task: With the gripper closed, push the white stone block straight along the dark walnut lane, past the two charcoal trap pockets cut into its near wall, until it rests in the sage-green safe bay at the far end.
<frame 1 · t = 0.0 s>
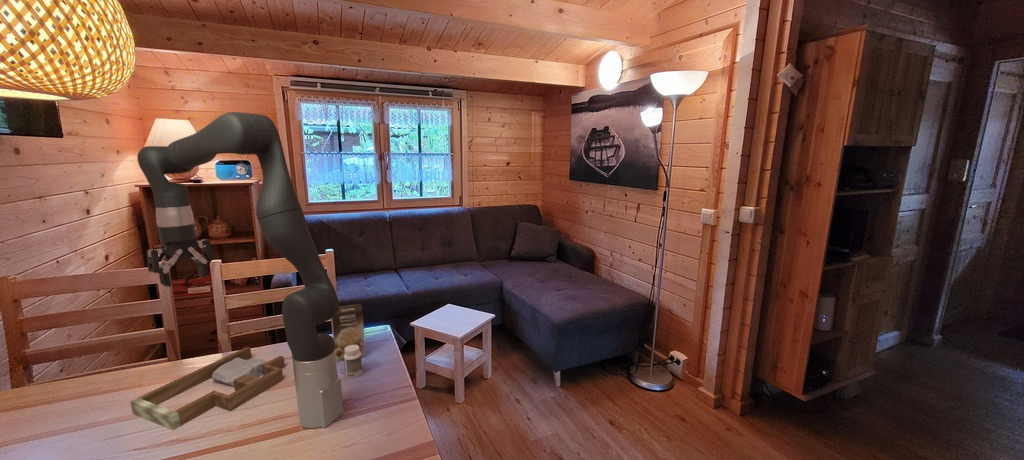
hand: (185, 281, 107), 29 cm above the table, tool pointing down, fingers open, 8 cm apart
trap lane: (219, 386, 109), on the table
pill bottle: (354, 374, 116), on the table
stone block: (238, 378, 114), on the table
coffee box: (350, 355, 126), on the table
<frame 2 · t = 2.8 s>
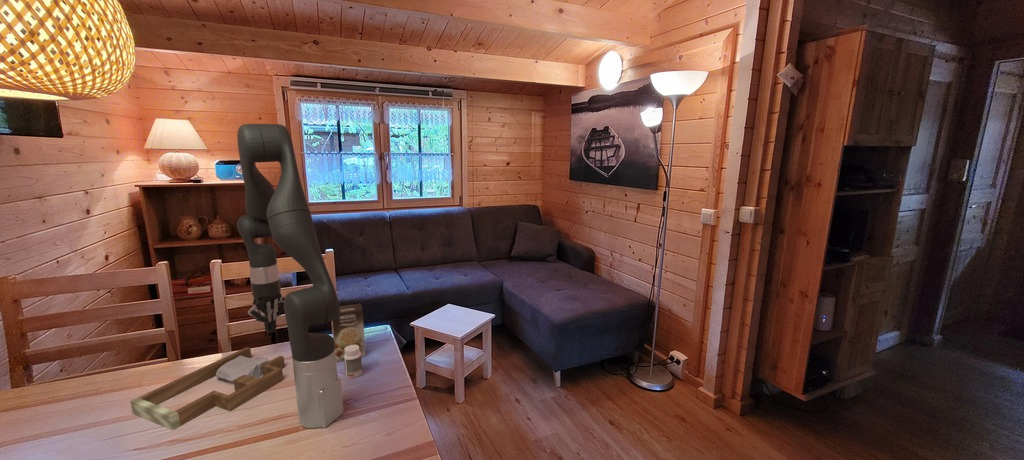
hand: (271, 331, 123), 9 cm above the table, tool pointing down, fingers closed
stone block: (242, 376, 115), on the table
everything else where it was.
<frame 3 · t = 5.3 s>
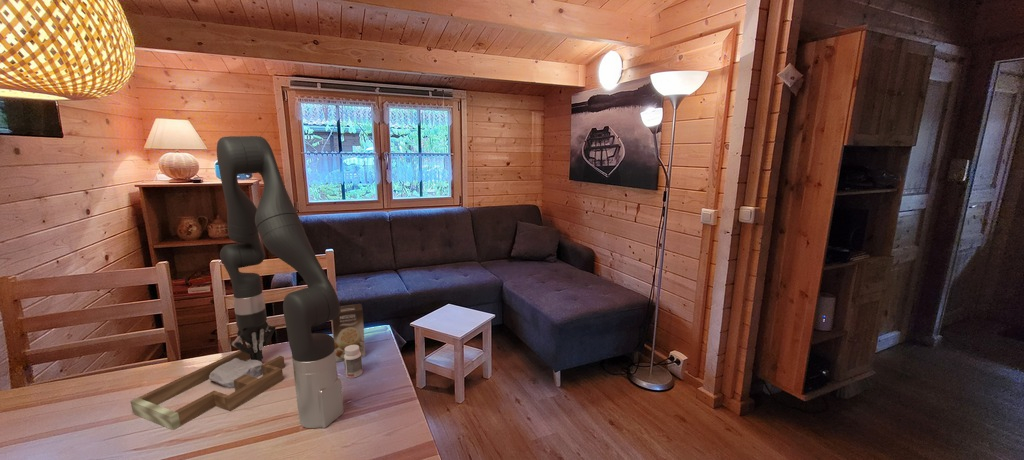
hand: (257, 361, 119), 1 cm above the table, tool pointing down, fingers closed
stone block: (235, 380, 113), on the table, touching gripper
everything else where it was.
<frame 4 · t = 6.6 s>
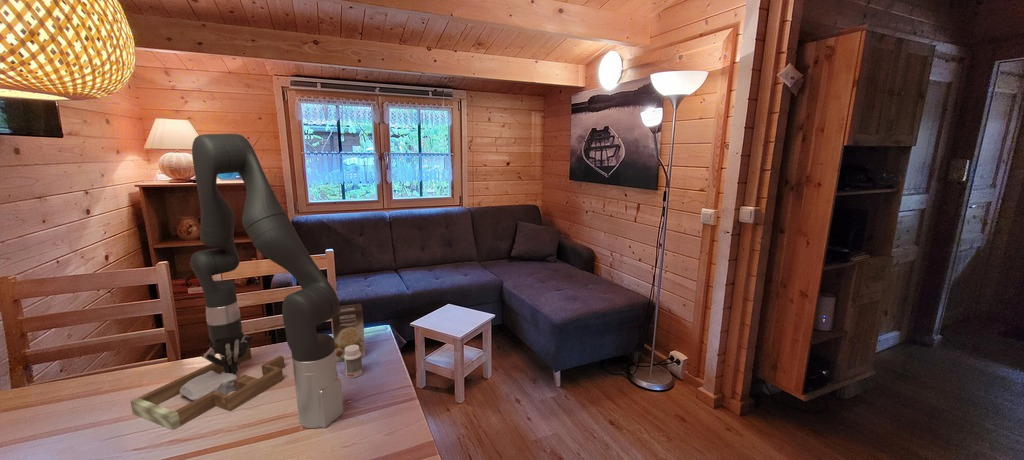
hand: (232, 374, 112), 1 cm above the table, tool pointing down, fingers closed
stone block: (208, 394, 106), on the table, touching gripper
everything else where it was.
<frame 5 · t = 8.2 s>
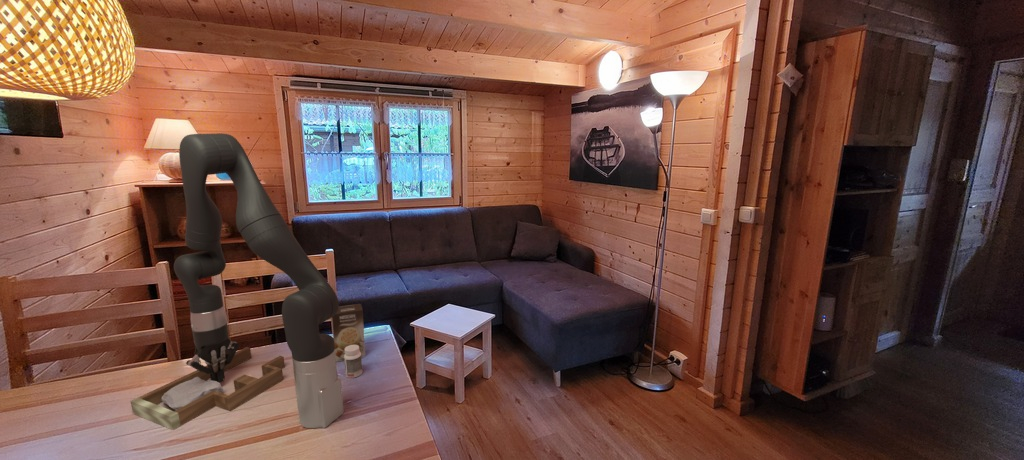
hand: (218, 382, 109), 1 cm above the table, tool pointing down, fingers closed
stone block: (191, 402, 103), on the table
everything else where it was.
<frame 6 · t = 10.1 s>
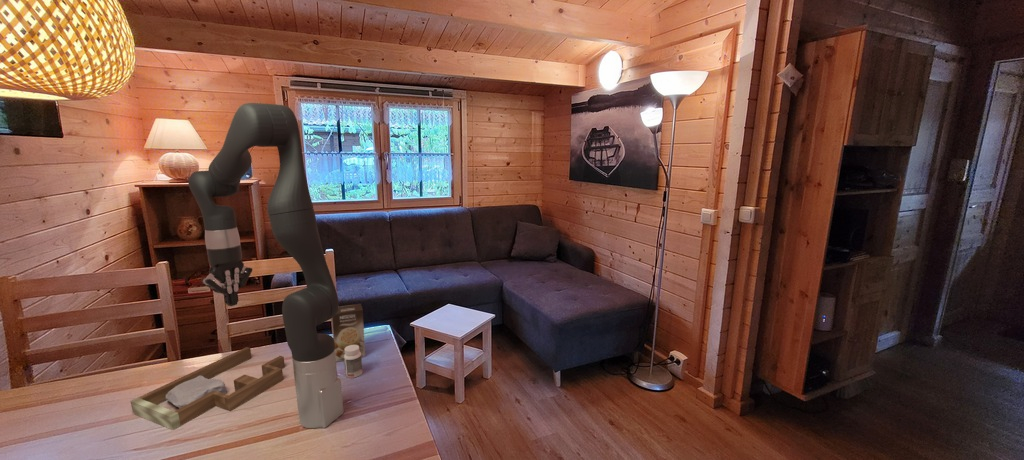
hand: (232, 304, 110), 22 cm above the table, tool pointing down, fingers closed
nothing on the table moved.
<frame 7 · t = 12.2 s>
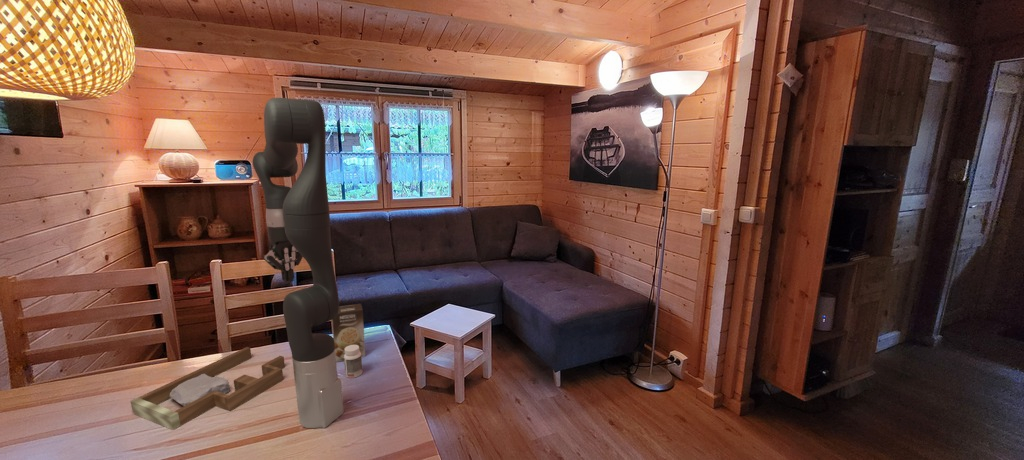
hand: (288, 281, 115), 27 cm above the table, tool pointing down, fingers closed
at the end: stone block inside the target area (2.4 cm from its centre), on the table; stone block moved 10.1 cm from its start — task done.
